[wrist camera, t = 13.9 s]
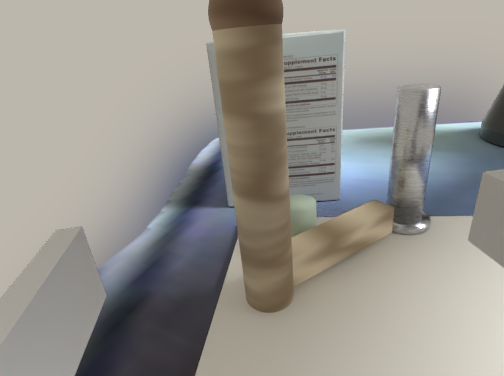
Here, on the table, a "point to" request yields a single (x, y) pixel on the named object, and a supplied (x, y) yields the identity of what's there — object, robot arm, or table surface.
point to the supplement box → (304, 112)
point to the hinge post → (412, 156)
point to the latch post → (302, 213)
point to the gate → (272, 161)
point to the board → (372, 314)
